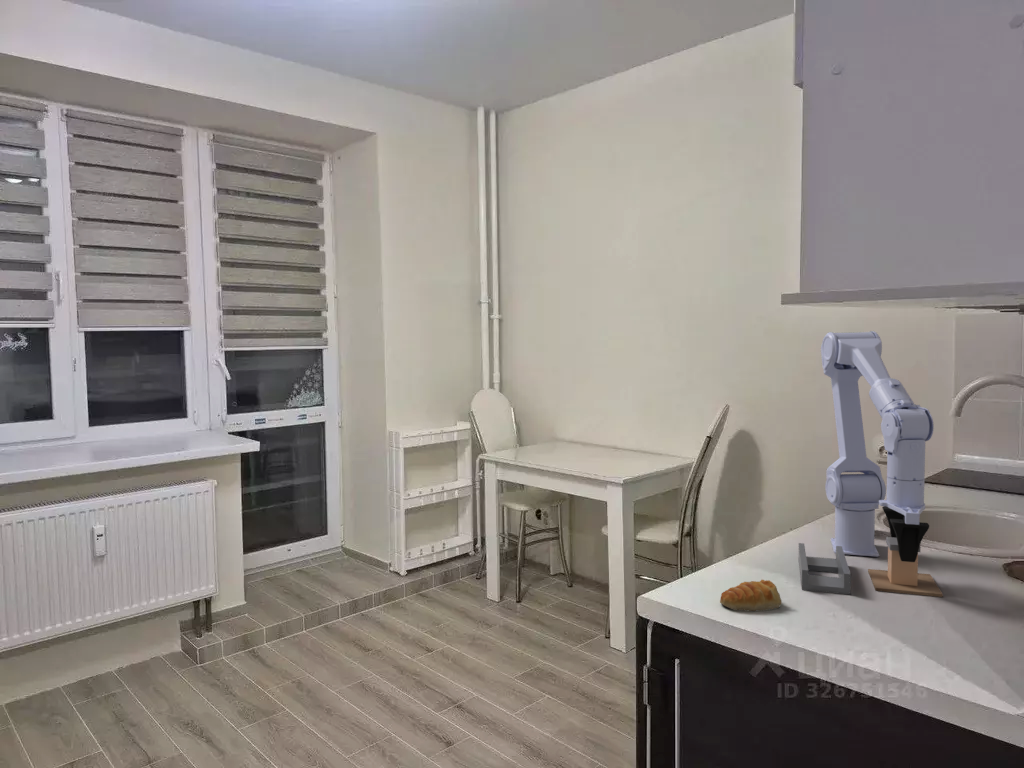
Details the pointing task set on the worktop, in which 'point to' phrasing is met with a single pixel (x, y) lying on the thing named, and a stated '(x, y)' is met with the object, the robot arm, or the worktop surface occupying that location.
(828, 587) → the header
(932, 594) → the walnut pad
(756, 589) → the pastry
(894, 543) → the plug
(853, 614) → the worktop surface
